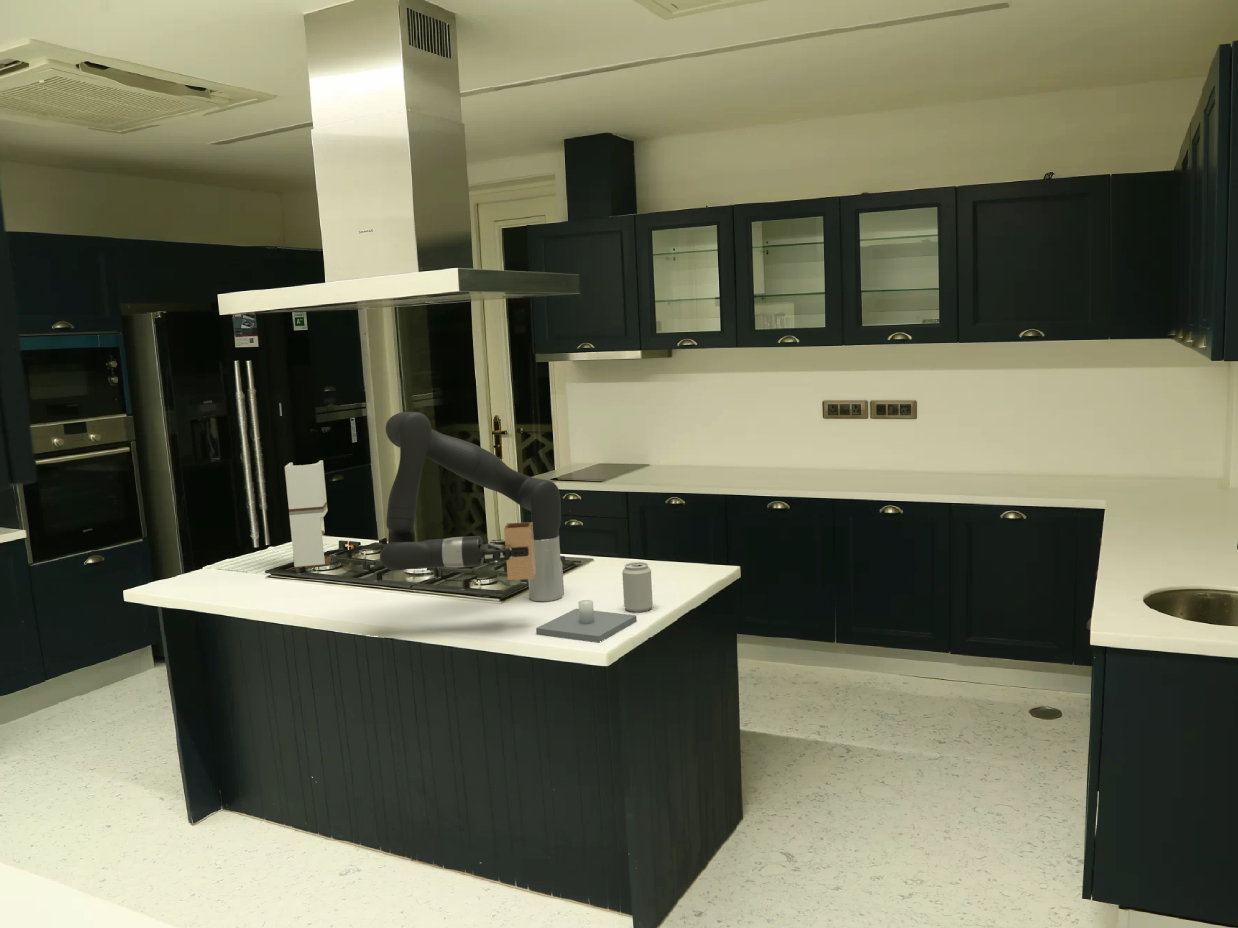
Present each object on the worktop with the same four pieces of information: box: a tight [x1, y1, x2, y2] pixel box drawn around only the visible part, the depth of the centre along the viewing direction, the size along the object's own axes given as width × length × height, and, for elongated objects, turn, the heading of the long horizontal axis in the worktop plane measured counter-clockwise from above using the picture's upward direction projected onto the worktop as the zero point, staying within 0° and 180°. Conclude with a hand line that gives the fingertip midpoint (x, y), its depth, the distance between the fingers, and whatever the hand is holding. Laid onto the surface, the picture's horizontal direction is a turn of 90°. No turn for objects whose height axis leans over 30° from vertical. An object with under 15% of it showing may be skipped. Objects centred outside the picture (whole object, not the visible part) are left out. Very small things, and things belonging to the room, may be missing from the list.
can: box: [621, 561, 654, 613], centre depth 254 cm, size 8×8×12 cm
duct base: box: [535, 599, 637, 643], centre depth 240 cm, size 18×18×6 cm
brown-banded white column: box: [284, 460, 333, 570], centre depth 322 cm, size 11×11×35 cm
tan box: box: [503, 521, 536, 581], centre depth 243 cm, size 6×6×13 cm
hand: (529, 548), depth 243 cm, fingers closed on tan box, 6 cm apart
